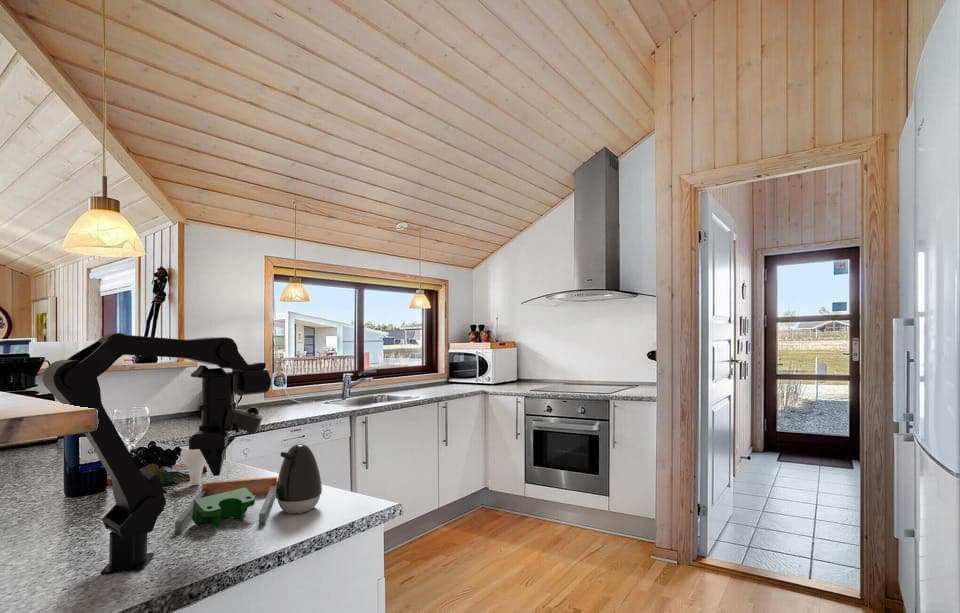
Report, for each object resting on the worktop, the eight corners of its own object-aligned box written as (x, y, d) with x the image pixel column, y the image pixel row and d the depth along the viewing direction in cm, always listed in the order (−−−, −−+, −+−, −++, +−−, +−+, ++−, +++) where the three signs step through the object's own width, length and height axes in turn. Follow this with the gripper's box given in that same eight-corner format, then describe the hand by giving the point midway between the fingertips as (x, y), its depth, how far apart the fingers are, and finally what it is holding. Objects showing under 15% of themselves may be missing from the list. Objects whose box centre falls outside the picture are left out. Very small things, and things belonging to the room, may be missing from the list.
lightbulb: (183, 483, 146) (184, 443, 146) (208, 480, 148) (209, 441, 149) (181, 489, 140) (182, 447, 140) (207, 486, 143) (208, 445, 143)
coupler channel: (264, 525, 114) (265, 506, 114) (174, 534, 110) (175, 514, 110) (277, 492, 137) (277, 476, 138) (203, 498, 133) (203, 482, 133)
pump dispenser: (265, 513, 121) (265, 446, 122) (299, 500, 131) (300, 438, 131) (297, 520, 117) (297, 451, 117) (331, 506, 126) (331, 442, 126)
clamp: (210, 549, 113) (196, 517, 109) (199, 535, 116) (185, 504, 113) (263, 514, 120) (252, 483, 117) (251, 502, 124) (240, 472, 120)
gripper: (252, 402, 102) (252, 485, 101) (265, 391, 120) (265, 461, 119) (188, 405, 99) (187, 490, 98) (211, 393, 117) (210, 465, 116)
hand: (216, 475), depth 108 cm, fingers closed
